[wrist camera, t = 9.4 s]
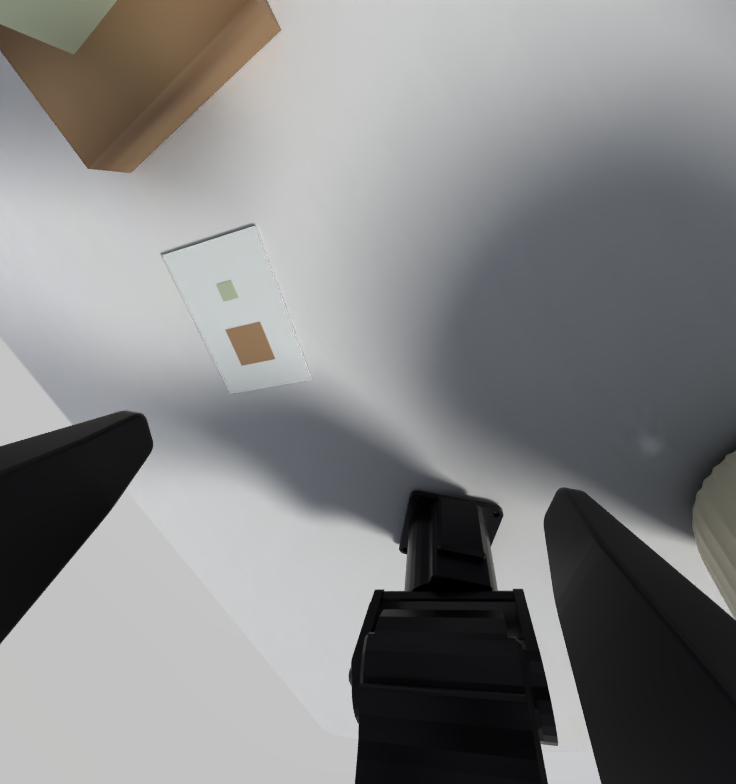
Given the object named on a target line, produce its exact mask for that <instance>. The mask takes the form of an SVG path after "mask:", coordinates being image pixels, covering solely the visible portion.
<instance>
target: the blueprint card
mask: <svg viewBox="0 0 736 784" xmlns="http://www.w3.org/2000/svg"><path fill="white" fill-rule="evenodd" d="M162 257H163V259H164V261H165V263H166V265H167V267H168V269H169V271H170V273H171V275H172V277H173V279H174V281H175V283H176V285H177V287H178V290H179V292H180V294H181V296H182V298H183V300H184V302H185V304H186V306H187V308H188V310H189V312H190V314H191V316H192V318H193V320H194V322H195V324H196V326H197V328H198V330H199V332H200V334H201V336H202V338H203V340H204V342H205V344H206V346H207V348H208V350H209V352H210V354H211V356H212V358H213V360H214V362H215V365H216V367H217V369H218V371H219V373H220V375H221V377H222V379H223V381H224V383H225V385H226V387H227V389H228V391H229V393H230V394H234V393H240V392H245V391H251V390H257V389H262V388H268V387H274V386H279V385H285V384H291V383H297V382H302V381H308V380H312V377H311V375H310V372H309V369H308V366H307V364H306V361H305V358H304V356H303V353H302V350H301V347H300V345H299V342H298V339H297V337H296V334H295V331H294V328H293V326H292V323H291V320H290V317H289V315H288V312H287V309H286V307H285V304H284V301H283V298H282V296H281V293H280V290H279V288H278V285H277V282H276V279H275V277H274V274H273V271H272V268H271V266H270V263H269V260H268V258H267V255H266V252H265V249H264V247H263V244H262V241H261V238H260V236H259V233H258V230H257V228H256V226H252V227H249V228H246V229H243V230H240V231H236V232H233V233H230V234H227V235H224V236H221V237H218V238H215V239H211V240H208V241H205V242H202V243H199V244H196V245H193V246H190V247H186V248H183V249H180V250H177V251H174V252H171V253H168V254H165V255H162Z"/></svg>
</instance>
